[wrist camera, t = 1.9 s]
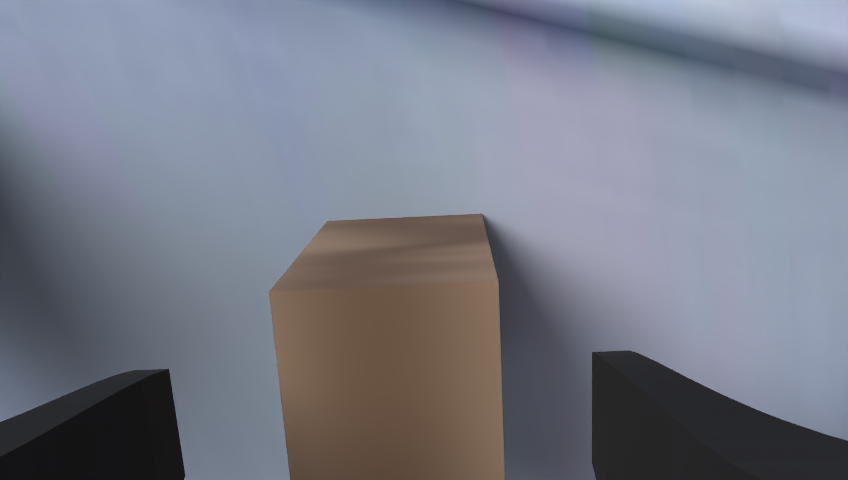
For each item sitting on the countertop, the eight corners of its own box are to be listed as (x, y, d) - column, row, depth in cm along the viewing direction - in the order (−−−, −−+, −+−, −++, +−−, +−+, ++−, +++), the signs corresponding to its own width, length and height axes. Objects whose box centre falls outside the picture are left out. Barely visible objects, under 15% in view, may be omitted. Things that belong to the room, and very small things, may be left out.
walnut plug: (481, 213, 18) (498, 281, 12) (487, 358, 19) (505, 488, 13) (327, 221, 18) (268, 292, 12) (340, 364, 19) (292, 494, 13)
